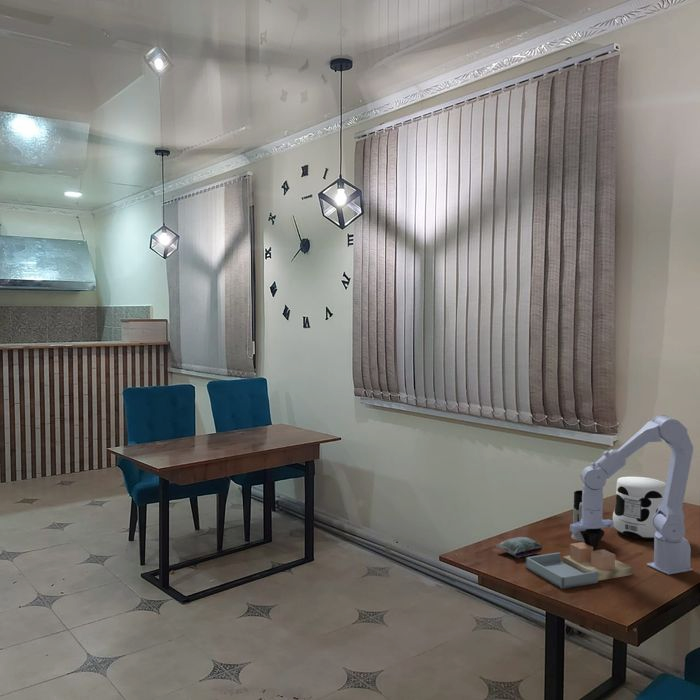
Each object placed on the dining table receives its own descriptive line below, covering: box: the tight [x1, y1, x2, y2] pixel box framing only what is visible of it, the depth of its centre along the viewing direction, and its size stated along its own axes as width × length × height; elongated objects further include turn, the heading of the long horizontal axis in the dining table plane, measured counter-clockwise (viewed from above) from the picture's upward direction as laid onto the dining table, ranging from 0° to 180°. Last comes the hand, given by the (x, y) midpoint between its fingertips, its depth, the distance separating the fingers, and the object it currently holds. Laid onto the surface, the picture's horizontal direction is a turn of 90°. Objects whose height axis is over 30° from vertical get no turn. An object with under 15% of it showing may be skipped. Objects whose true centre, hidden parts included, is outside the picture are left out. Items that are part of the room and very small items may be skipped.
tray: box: [525, 552, 599, 590], centre depth 182 cm, size 12×16×3 cm
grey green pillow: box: [495, 536, 544, 559], centre depth 198 cm, size 9×12×5 cm
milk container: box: [612, 476, 666, 540], centre depth 216 cm, size 17×17×18 cm
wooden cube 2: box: [591, 548, 616, 571], centre depth 182 cm, size 4×4×4 cm
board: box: [561, 555, 634, 582], centre depth 186 cm, size 13×14×2 cm
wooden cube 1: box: [569, 541, 593, 563], centre depth 188 cm, size 4×4×4 cm
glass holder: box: [570, 489, 585, 543], centre depth 210 cm, size 9×14×15 cm, turn 149°
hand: (591, 553), depth 190 cm, fingers closed
